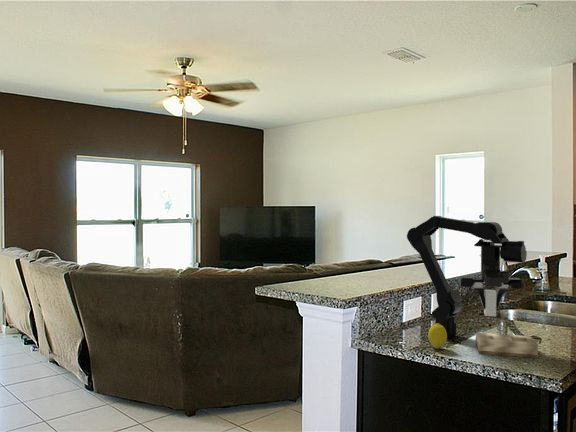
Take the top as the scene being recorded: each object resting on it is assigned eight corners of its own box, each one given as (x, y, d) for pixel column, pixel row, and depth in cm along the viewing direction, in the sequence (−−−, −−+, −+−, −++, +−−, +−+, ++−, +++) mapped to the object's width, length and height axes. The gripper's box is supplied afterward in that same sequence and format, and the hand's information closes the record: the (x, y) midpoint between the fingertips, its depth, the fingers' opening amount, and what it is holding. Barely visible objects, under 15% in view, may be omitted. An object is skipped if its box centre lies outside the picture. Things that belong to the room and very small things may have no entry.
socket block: (479, 353, 150) (479, 340, 150) (475, 345, 160) (475, 332, 160) (537, 358, 146) (537, 344, 146) (530, 349, 156) (530, 336, 156)
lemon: (434, 351, 152) (435, 325, 152) (424, 347, 157) (425, 321, 157) (450, 350, 153) (450, 324, 153) (440, 345, 159) (440, 320, 158)
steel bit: (485, 316, 161) (485, 291, 161) (484, 314, 164) (484, 289, 164) (496, 316, 160) (496, 291, 160) (494, 314, 163) (494, 290, 163)
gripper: (462, 262, 156) (462, 312, 156) (527, 264, 152) (527, 315, 152) (459, 259, 167) (459, 305, 167) (519, 260, 162) (519, 308, 163)
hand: (490, 309), depth 162 cm, fingers closed on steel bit, 3 cm apart
